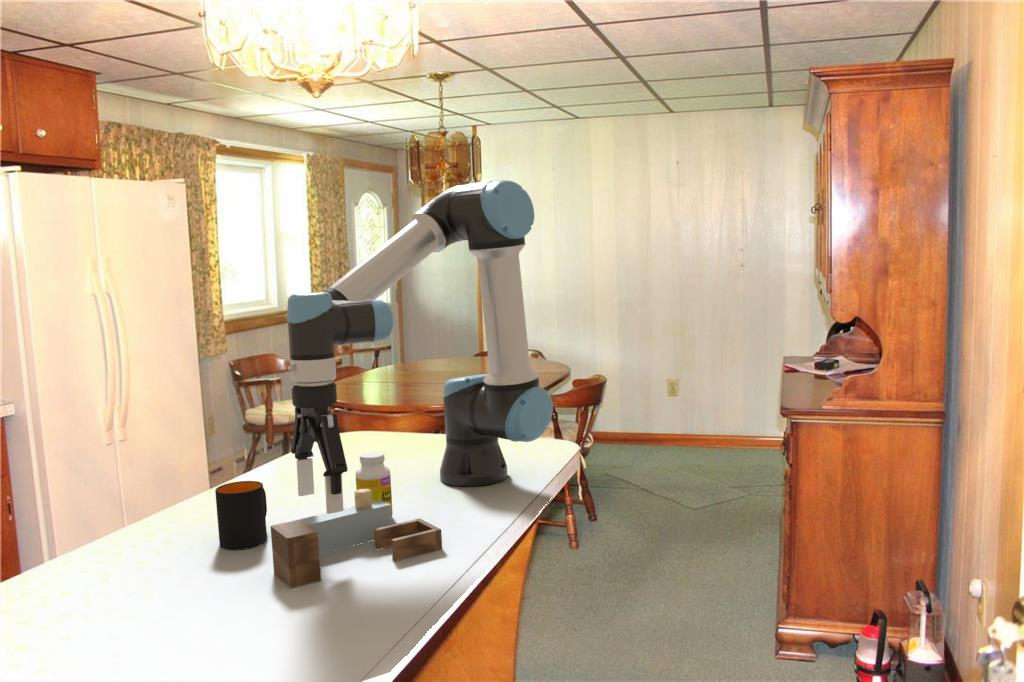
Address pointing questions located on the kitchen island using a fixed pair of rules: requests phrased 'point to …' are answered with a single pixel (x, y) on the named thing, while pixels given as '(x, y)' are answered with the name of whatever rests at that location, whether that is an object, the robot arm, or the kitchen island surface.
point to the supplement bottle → (374, 476)
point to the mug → (241, 515)
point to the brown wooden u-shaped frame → (409, 538)
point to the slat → (351, 523)
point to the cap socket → (295, 553)
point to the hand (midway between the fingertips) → (320, 503)
